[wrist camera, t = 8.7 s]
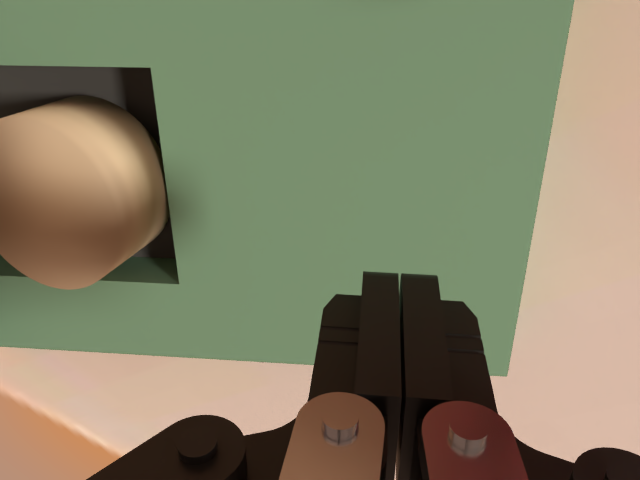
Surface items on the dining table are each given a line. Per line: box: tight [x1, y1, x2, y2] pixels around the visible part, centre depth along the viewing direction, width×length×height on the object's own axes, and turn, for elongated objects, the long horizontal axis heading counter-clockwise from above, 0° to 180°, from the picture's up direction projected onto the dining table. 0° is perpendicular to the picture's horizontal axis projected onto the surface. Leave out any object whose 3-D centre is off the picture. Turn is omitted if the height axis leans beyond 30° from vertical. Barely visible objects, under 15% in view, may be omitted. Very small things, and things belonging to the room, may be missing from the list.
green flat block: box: [0, 0, 574, 376], centre depth 19 cm, size 14×21×5 cm, turn 90°
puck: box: [0, 95, 170, 290], centre depth 20 cm, size 6×6×3 cm
